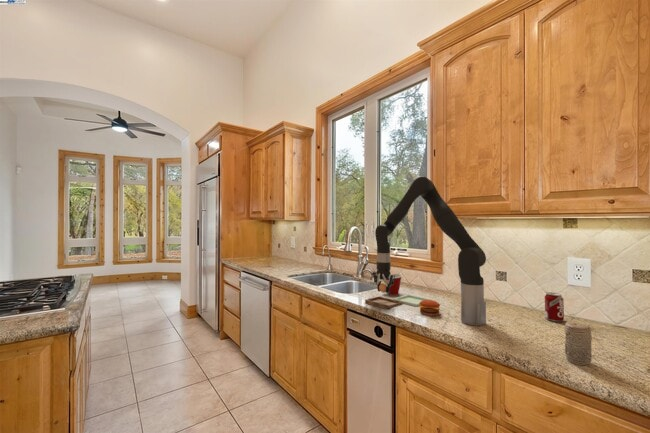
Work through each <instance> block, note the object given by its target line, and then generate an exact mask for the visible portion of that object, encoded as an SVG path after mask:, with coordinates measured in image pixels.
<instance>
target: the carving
mask: <svg viewBox="0 0 650 433" xmlns="http://www.w3.org/2000/svg"><path fill="white" fill-rule="evenodd" d="M564 333H565V338H564V339H565V340H564V353H565V358H566V360H567V361H568V362H570V363H571V364H575V365H578V366H587V365H589V364H591V363H592V356H593V355H592V351H593V350H592V340H593V337H592V330H591V327H590V326H589V325H588V324H585V323H580V322H571V321H567V322H565V325H564Z"/></svg>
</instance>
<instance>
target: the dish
mask: <svg viewBox="0 0 650 433" xmlns="http://www.w3.org/2000/svg"><path fill="white" fill-rule="evenodd" d="M392 300H397V301H401V302H403V304H404V305H408V306H412V307H415V308H416V307H420V304H419V303H420V302H421V301H423V300H433V299H431V298H427V297H422V296H417V295H412V294H405V295H401V296H397V297H394V298H392ZM403 304H402V305H403Z"/></svg>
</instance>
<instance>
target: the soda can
mask: <svg viewBox="0 0 650 433" xmlns="http://www.w3.org/2000/svg"><path fill="white" fill-rule="evenodd" d="M564 303H565V302H564V298H563V296H562V294H561V293H558V292H549V291H547V292H545V295H544V318H545V319H547V320H548V321H550V322H555V323H561V322H564V321H565V310H564V309H565V306H564Z"/></svg>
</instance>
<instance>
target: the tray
mask: <svg viewBox="0 0 650 433" xmlns="http://www.w3.org/2000/svg"><path fill="white" fill-rule="evenodd" d="M364 303H365V304H368V305H371V306H375V307H378V308H382V309H384V310H392V308H394V307H395V308H396V307H398V306H402V305H403V302H401V301H397V300H393V298H387V297H383V296H381V295H380V296H375V297H371V298H367V299H365V302H364Z"/></svg>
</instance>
